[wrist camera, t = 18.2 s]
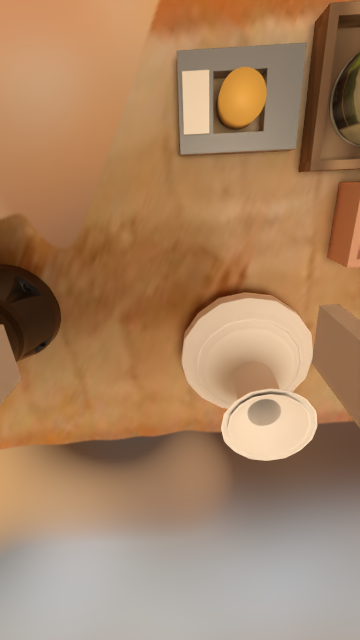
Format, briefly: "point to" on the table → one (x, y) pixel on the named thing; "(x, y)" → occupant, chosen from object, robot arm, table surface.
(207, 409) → the table surface
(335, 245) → the terracotta square planter
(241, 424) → the candle holder
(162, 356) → the table surface
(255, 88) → the button
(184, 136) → the base
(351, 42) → the dark wooden tray
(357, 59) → the coffee can
